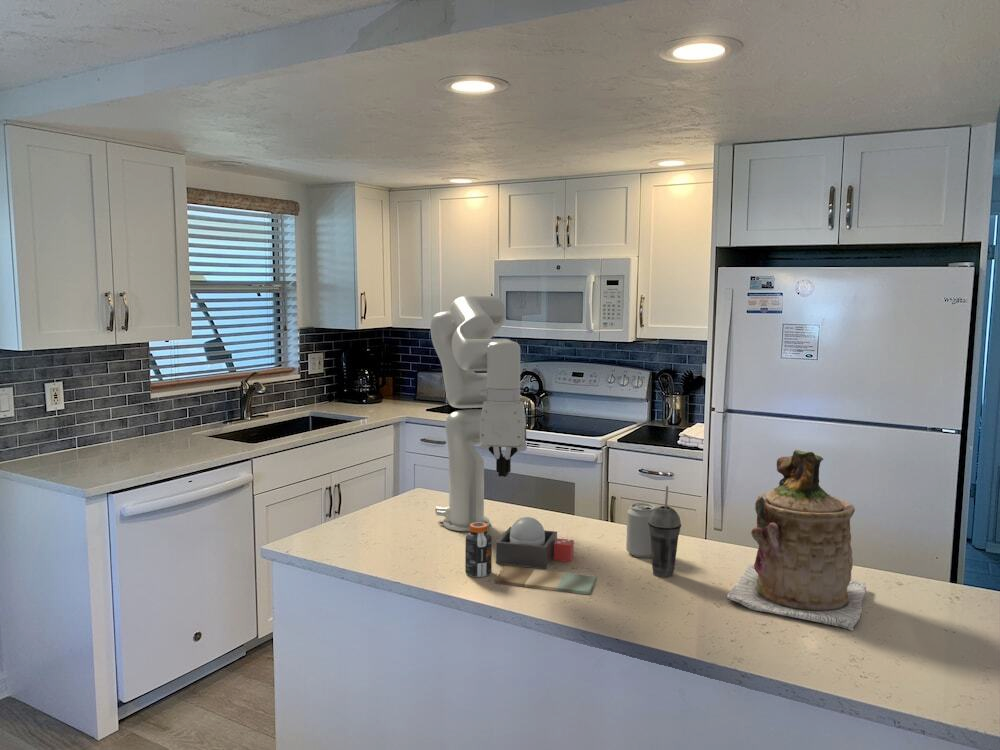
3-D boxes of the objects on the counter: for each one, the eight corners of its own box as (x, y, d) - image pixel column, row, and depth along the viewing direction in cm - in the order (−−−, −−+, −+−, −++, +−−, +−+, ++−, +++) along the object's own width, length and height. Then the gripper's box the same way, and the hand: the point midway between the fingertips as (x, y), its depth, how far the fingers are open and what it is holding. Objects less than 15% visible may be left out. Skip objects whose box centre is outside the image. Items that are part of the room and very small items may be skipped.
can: (648, 561, 174) (650, 511, 173) (620, 554, 179) (621, 506, 177) (662, 552, 180) (663, 504, 179) (634, 546, 185) (636, 499, 183)
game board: (493, 582, 160) (493, 580, 160) (505, 568, 169) (505, 565, 169) (589, 594, 154) (589, 591, 154) (596, 578, 163) (596, 576, 163)
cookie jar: (868, 590, 158) (877, 443, 154) (857, 635, 137) (868, 467, 133) (749, 568, 170) (755, 432, 167) (723, 606, 149) (729, 451, 146)
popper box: (495, 563, 172) (496, 542, 172) (509, 546, 184) (510, 526, 183) (565, 571, 168) (565, 549, 167) (575, 553, 179) (575, 533, 178)
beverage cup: (642, 576, 165) (645, 489, 163) (651, 565, 171) (654, 481, 169) (674, 582, 161) (677, 493, 159) (683, 571, 168) (686, 485, 166)
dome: (505, 555, 173) (505, 521, 172) (514, 544, 181) (515, 511, 180) (540, 559, 171) (540, 524, 170) (548, 548, 179) (548, 514, 178)
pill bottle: (491, 578, 163) (491, 528, 162) (464, 577, 163) (464, 528, 162) (491, 568, 169) (491, 520, 168) (465, 567, 169) (466, 520, 168)
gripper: (467, 396, 165) (467, 477, 166) (532, 398, 161) (532, 481, 163) (476, 392, 172) (476, 470, 174) (539, 394, 168) (538, 473, 170)
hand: (503, 475), depth 168 cm, fingers closed
